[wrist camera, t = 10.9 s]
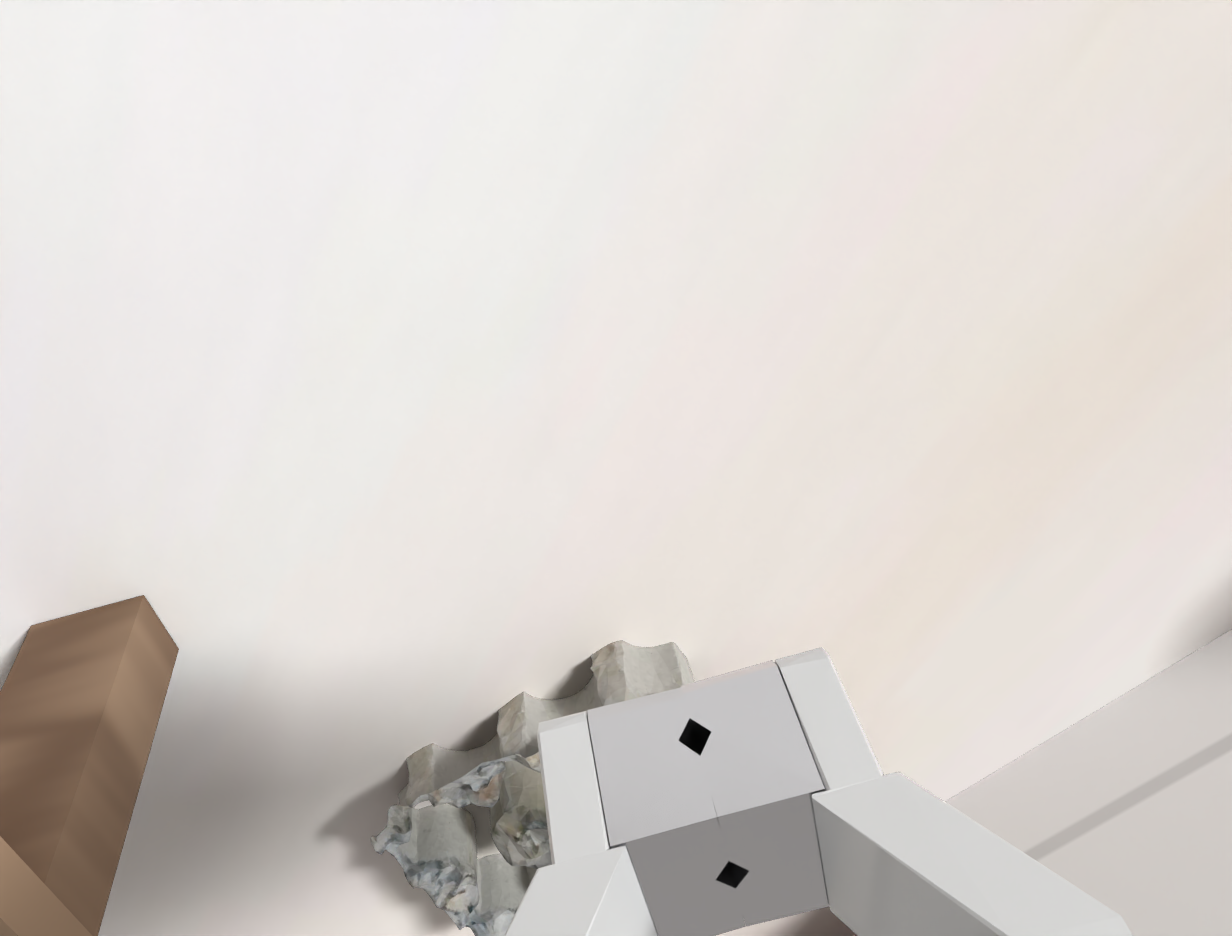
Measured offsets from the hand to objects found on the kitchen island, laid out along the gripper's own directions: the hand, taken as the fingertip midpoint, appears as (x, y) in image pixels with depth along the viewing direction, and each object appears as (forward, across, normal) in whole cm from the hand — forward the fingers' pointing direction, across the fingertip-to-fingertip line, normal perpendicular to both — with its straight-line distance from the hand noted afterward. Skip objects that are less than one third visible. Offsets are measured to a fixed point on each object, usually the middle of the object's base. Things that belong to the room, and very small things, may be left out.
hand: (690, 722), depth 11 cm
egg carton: (+15, +4, +18) cm, 23 cm away
